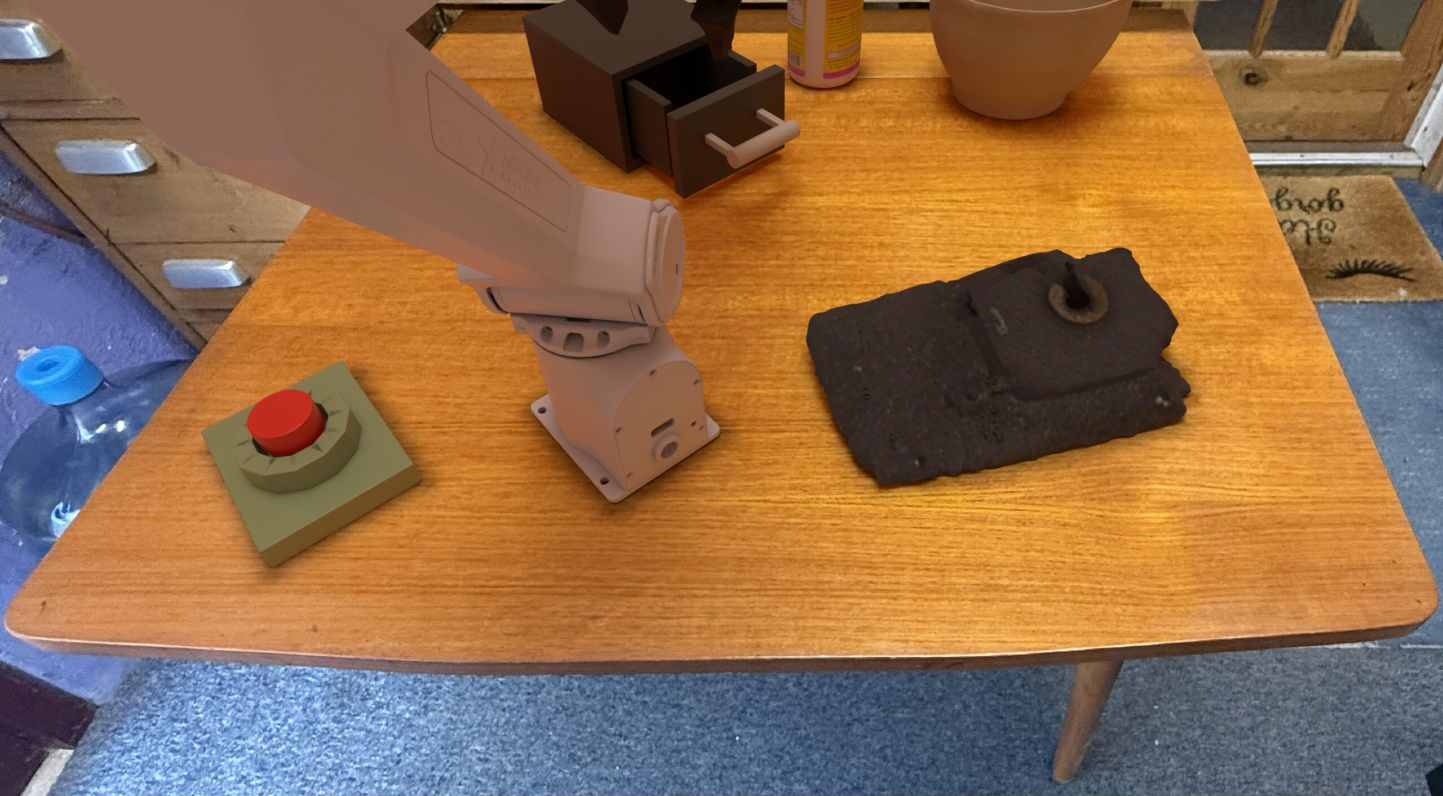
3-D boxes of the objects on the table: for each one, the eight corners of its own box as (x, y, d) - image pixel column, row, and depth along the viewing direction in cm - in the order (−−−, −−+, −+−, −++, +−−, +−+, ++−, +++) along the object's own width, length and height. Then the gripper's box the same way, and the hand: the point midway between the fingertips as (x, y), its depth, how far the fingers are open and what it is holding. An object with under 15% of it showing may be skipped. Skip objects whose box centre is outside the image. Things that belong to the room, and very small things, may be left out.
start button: (334, 434, 48) (322, 415, 46) (273, 467, 46) (258, 448, 45) (312, 398, 49) (299, 379, 48) (252, 429, 48) (237, 410, 47)
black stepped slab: (782, 321, 56) (782, 267, 52) (1079, 256, 59) (1098, 200, 55) (863, 504, 46) (870, 452, 43) (1216, 415, 49) (1251, 359, 45)
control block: (423, 480, 49) (402, 444, 46) (273, 568, 45) (241, 534, 43) (351, 377, 55) (329, 339, 52) (214, 448, 51) (183, 412, 49)
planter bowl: (1084, 49, 78) (1120, -77, 69) (1120, 145, 67) (1167, 10, 59) (910, 50, 79) (925, -73, 71) (918, 143, 69) (936, 12, 61)
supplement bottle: (868, 61, 78) (880, -87, 69) (846, 96, 75) (855, -56, 65) (801, 51, 80) (804, -95, 71) (776, 84, 77) (775, -65, 67)
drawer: (820, 169, 66) (823, 89, 61) (717, 224, 62) (712, 144, 57) (692, 91, 75) (686, 16, 70) (596, 135, 71) (581, 59, 66)
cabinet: (735, 121, 73) (731, 24, 66) (627, 173, 68) (610, 75, 62) (646, 66, 80) (634, -26, 74) (543, 110, 76) (521, 16, 69)
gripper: (780, -169, 41) (793, 5, 55) (522, -218, 44) (594, -41, 57) (733, -48, 41) (758, 100, 54) (473, -105, 43) (557, 49, 56)
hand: (671, 34), depth 56 cm, fingers open, 7 cm apart
